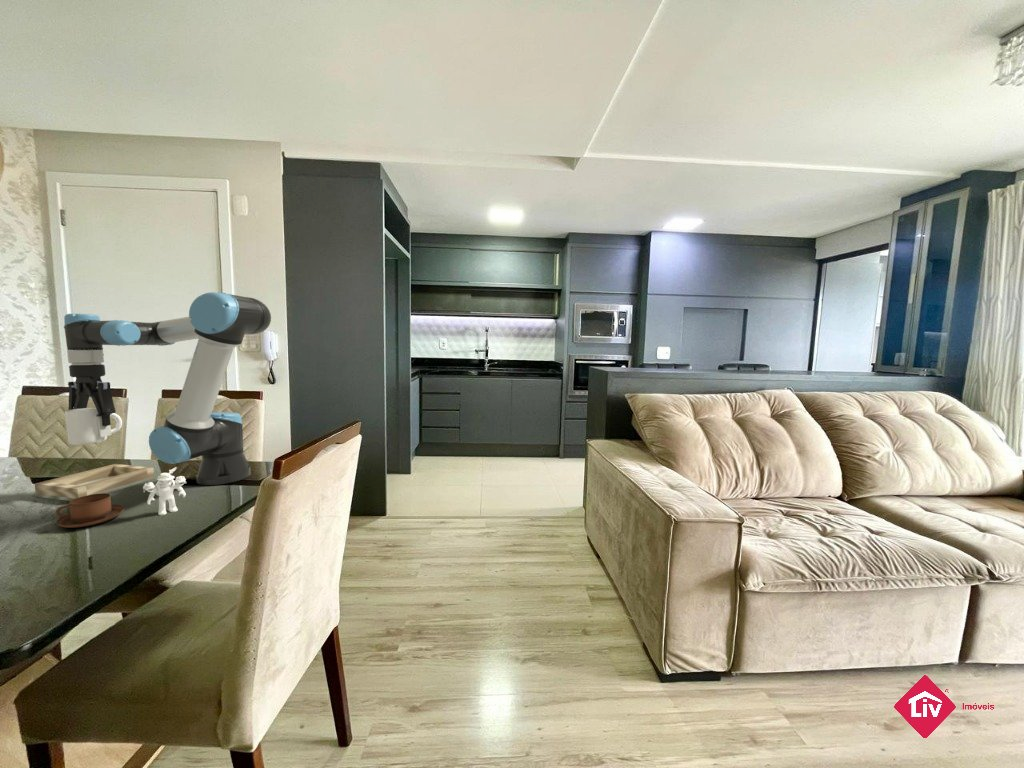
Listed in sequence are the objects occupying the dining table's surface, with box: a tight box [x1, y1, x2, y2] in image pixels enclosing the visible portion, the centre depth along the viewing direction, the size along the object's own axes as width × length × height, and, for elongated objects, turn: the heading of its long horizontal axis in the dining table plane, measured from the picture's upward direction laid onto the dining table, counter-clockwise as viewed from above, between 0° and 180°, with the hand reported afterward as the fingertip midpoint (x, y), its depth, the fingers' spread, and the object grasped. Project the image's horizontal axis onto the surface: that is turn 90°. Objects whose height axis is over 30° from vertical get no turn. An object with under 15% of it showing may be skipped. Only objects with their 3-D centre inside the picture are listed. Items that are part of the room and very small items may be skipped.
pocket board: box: [34, 463, 156, 502], centre depth 123 cm, size 17×20×4 cm
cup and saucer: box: [55, 493, 125, 529], centre depth 101 cm, size 12×12×6 cm
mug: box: [64, 407, 123, 446], centre depth 122 cm, size 12×8×10 cm
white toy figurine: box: [142, 466, 187, 516], centre depth 106 cm, size 9×4×12 cm, turn 144°
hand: (94, 435), depth 122 cm, fingers closed on mug, 8 cm apart
